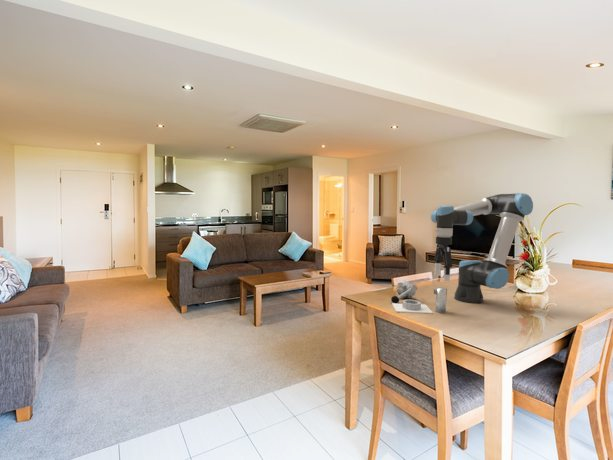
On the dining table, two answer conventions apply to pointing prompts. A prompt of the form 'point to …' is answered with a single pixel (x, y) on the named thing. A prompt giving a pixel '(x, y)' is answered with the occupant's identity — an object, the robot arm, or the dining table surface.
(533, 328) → the dining table surface
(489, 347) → the dining table surface
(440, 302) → the grey upright cylinder
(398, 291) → the valve
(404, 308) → the duct panel
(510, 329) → the dining table surface
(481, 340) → the dining table surface
